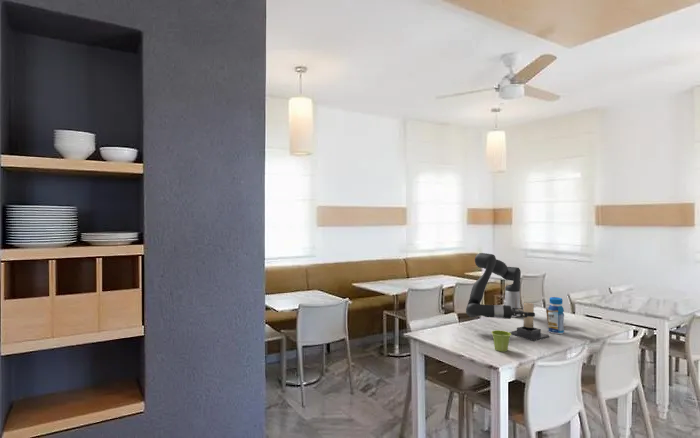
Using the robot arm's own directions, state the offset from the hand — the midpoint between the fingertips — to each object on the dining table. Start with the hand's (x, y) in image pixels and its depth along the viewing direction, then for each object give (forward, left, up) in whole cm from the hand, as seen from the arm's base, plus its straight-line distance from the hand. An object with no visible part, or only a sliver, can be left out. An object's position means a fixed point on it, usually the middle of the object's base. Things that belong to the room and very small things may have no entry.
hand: (533, 313), depth 229 cm
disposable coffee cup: (-6, +30, -13) cm, 33 cm away
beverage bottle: (+3, +17, -13) cm, 22 cm away
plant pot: (+5, -36, -13) cm, 38 cm away
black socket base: (-2, -2, -13) cm, 13 cm away
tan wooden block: (-2, -2, -7) cm, 8 cm away
